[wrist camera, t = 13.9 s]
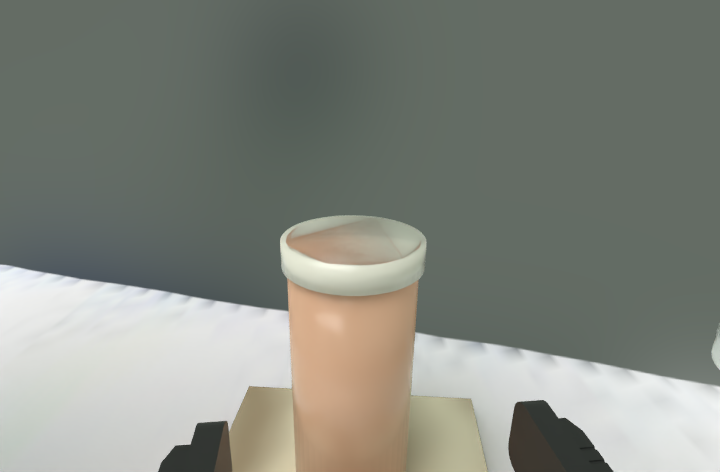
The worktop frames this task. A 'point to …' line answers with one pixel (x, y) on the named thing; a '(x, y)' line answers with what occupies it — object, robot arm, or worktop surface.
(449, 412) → the birch board
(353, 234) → the terracotta jar
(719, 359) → the toilet tissue
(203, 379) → the worktop surface
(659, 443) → the worktop surface
